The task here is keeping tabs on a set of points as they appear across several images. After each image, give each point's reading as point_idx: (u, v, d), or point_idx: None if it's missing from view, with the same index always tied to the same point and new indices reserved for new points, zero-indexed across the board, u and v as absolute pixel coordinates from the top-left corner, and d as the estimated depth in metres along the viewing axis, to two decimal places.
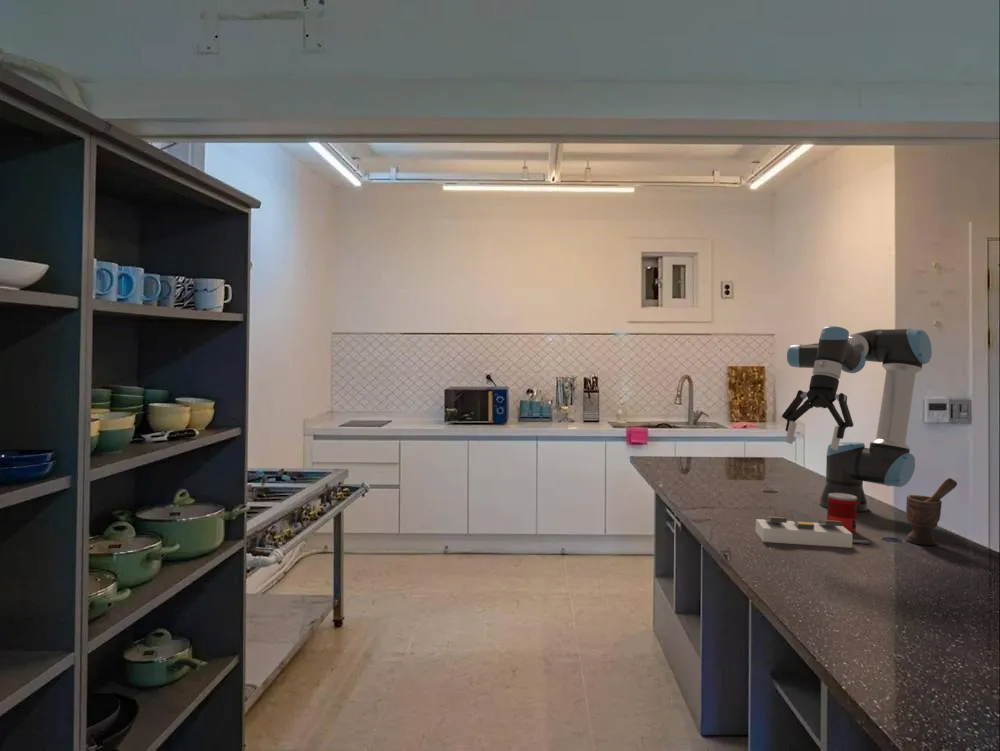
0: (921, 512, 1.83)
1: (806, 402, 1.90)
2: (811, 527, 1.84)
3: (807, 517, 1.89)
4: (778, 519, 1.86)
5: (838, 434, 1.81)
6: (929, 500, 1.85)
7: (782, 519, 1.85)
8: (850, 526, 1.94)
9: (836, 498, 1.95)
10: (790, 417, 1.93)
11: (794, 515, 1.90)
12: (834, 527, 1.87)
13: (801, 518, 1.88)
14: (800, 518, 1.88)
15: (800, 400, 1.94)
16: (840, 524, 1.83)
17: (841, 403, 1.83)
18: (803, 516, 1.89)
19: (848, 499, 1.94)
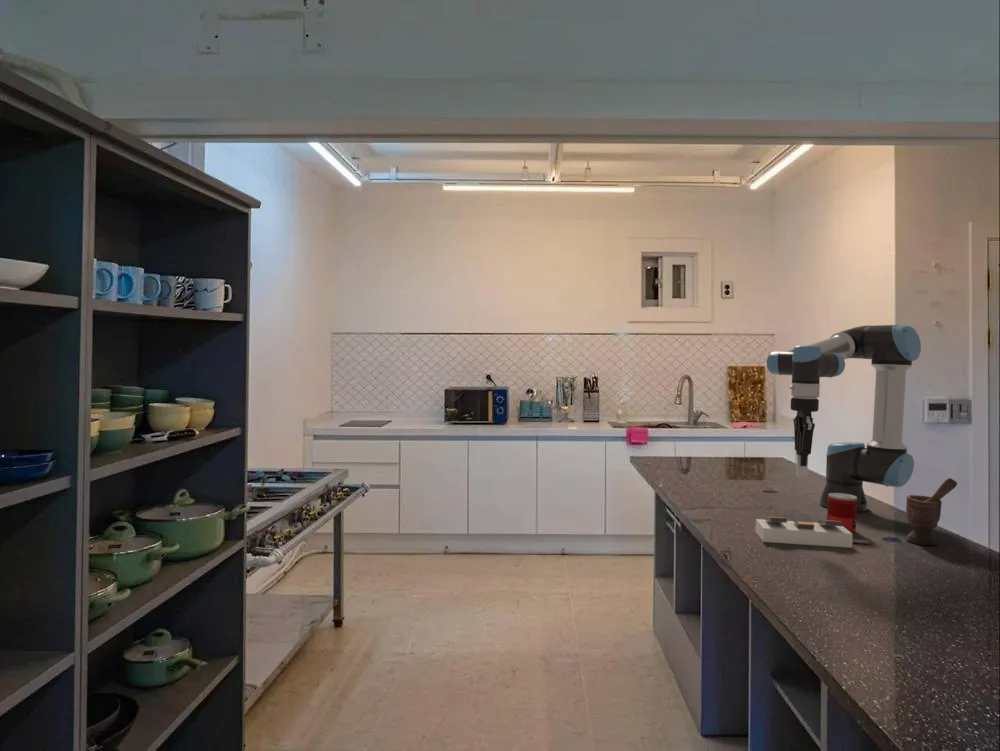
0: (921, 512, 1.83)
1: (796, 428, 1.91)
2: (811, 527, 1.84)
3: (807, 517, 1.89)
4: (778, 519, 1.86)
5: (800, 462, 1.89)
6: (929, 500, 1.85)
7: (782, 519, 1.85)
8: (850, 526, 1.94)
9: (836, 498, 1.95)
10: (797, 449, 1.91)
11: (794, 515, 1.90)
12: (834, 527, 1.87)
13: (801, 518, 1.88)
14: (800, 518, 1.88)
15: None
16: (840, 524, 1.83)
17: (803, 432, 1.85)
18: (803, 516, 1.89)
19: (848, 499, 1.94)
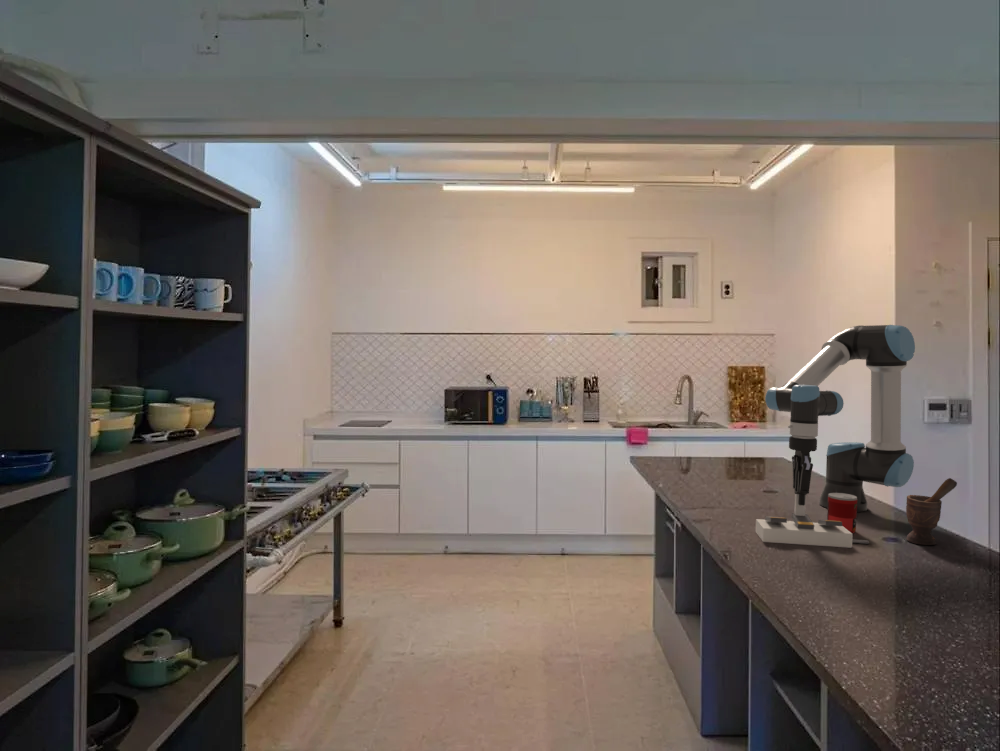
0: (921, 512, 1.83)
1: (794, 466, 1.91)
2: (811, 527, 1.84)
3: (807, 517, 1.89)
4: (778, 519, 1.86)
5: (798, 501, 1.89)
6: (929, 500, 1.85)
7: (782, 519, 1.85)
8: (850, 526, 1.94)
9: (836, 498, 1.95)
10: (795, 488, 1.91)
11: (794, 515, 1.90)
12: (834, 527, 1.87)
13: (801, 518, 1.88)
14: (800, 518, 1.88)
15: None
16: (840, 524, 1.83)
17: (801, 472, 1.85)
18: (803, 516, 1.89)
19: (848, 499, 1.94)
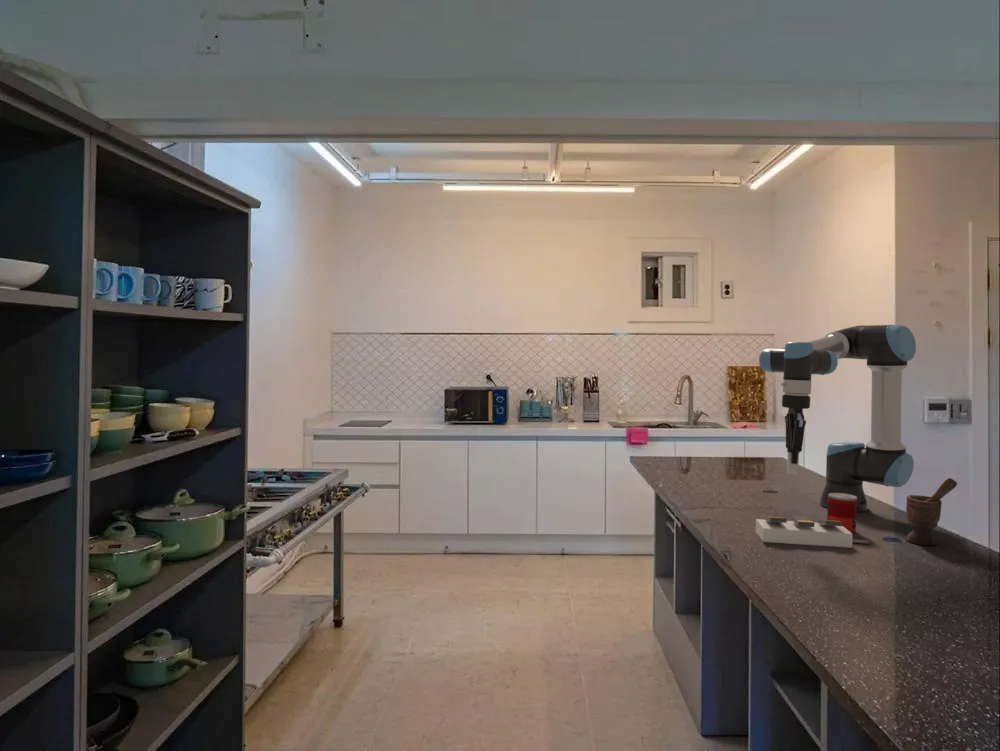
0: (921, 512, 1.83)
1: (787, 425, 1.89)
2: (811, 525, 1.84)
3: (807, 518, 1.89)
4: (778, 519, 1.86)
5: (791, 460, 1.87)
6: (929, 500, 1.85)
7: (782, 519, 1.85)
8: (850, 526, 1.94)
9: (836, 498, 1.95)
10: (788, 447, 1.89)
11: (794, 516, 1.90)
12: (834, 527, 1.87)
13: (801, 518, 1.88)
14: (799, 518, 1.88)
15: None
16: (840, 524, 1.83)
17: (794, 429, 1.83)
18: (803, 517, 1.89)
19: (848, 499, 1.94)
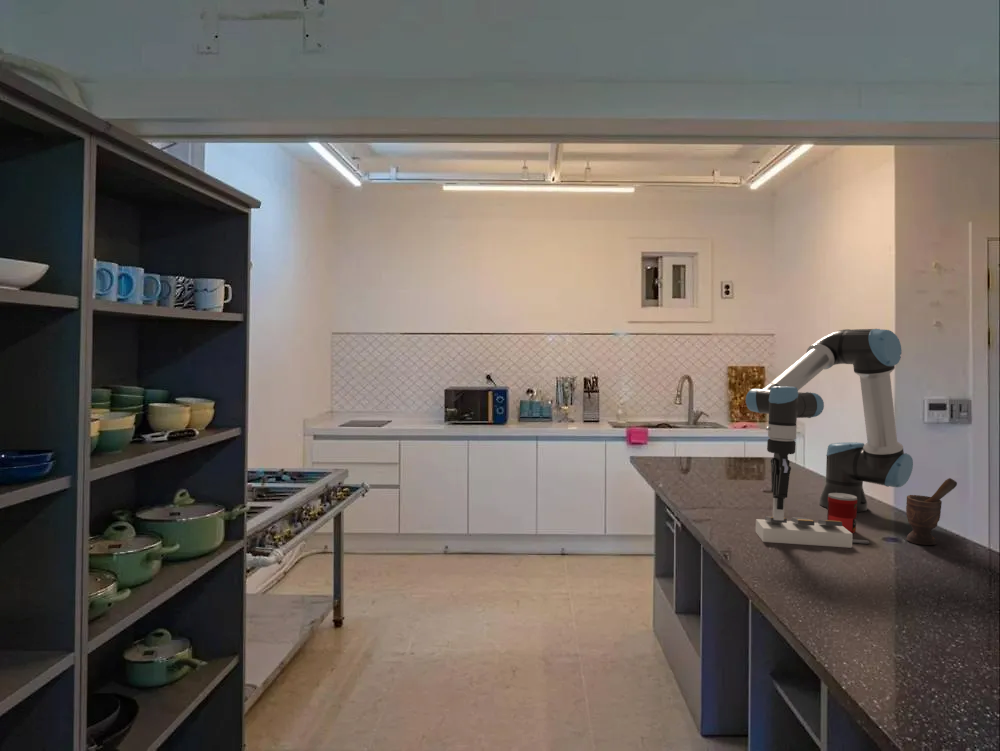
0: (921, 512, 1.83)
1: (772, 469, 1.87)
2: (811, 523, 1.84)
3: (807, 518, 1.89)
4: None
5: (777, 505, 1.84)
6: (929, 500, 1.85)
7: None
8: (850, 526, 1.94)
9: (836, 498, 1.95)
10: (773, 491, 1.87)
11: (794, 517, 1.90)
12: (834, 527, 1.87)
13: (801, 518, 1.88)
14: (799, 518, 1.88)
15: None
16: (840, 524, 1.83)
17: (779, 475, 1.81)
18: (803, 518, 1.89)
19: (848, 499, 1.94)
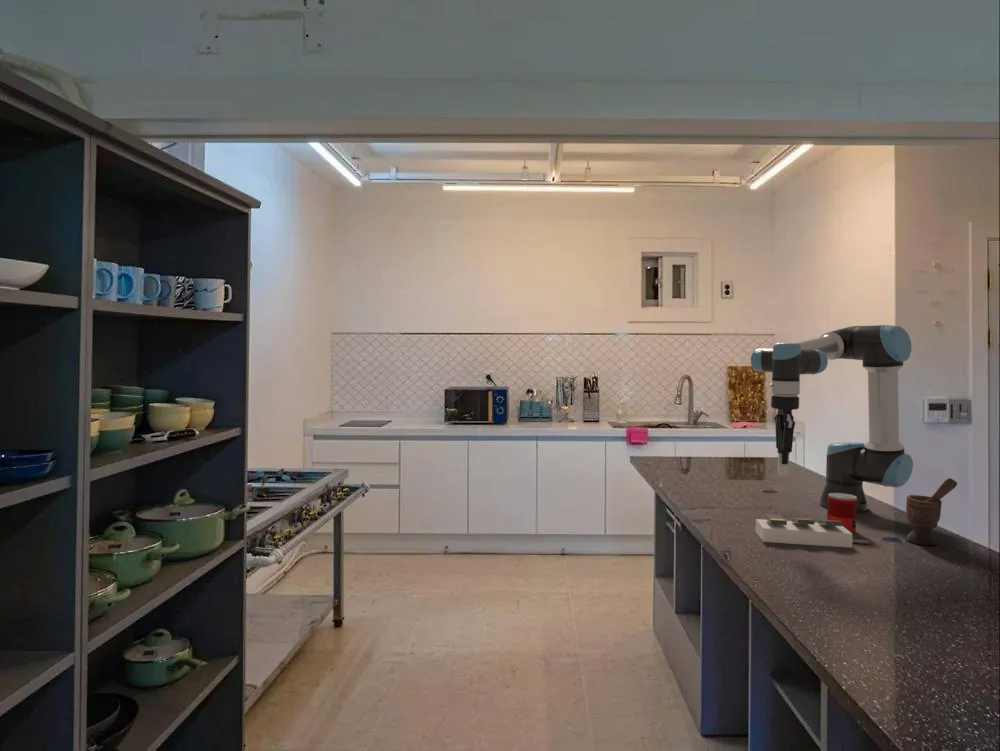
0: (921, 512, 1.83)
1: (777, 425, 1.89)
2: (811, 522, 1.84)
3: None
4: (778, 522, 1.86)
5: (782, 460, 1.87)
6: (929, 500, 1.85)
7: (782, 522, 1.85)
8: (850, 526, 1.94)
9: (836, 498, 1.95)
10: (778, 447, 1.90)
11: (794, 518, 1.90)
12: (834, 527, 1.87)
13: None
14: None
15: None
16: (840, 524, 1.83)
17: (784, 430, 1.84)
18: None
19: (848, 499, 1.94)
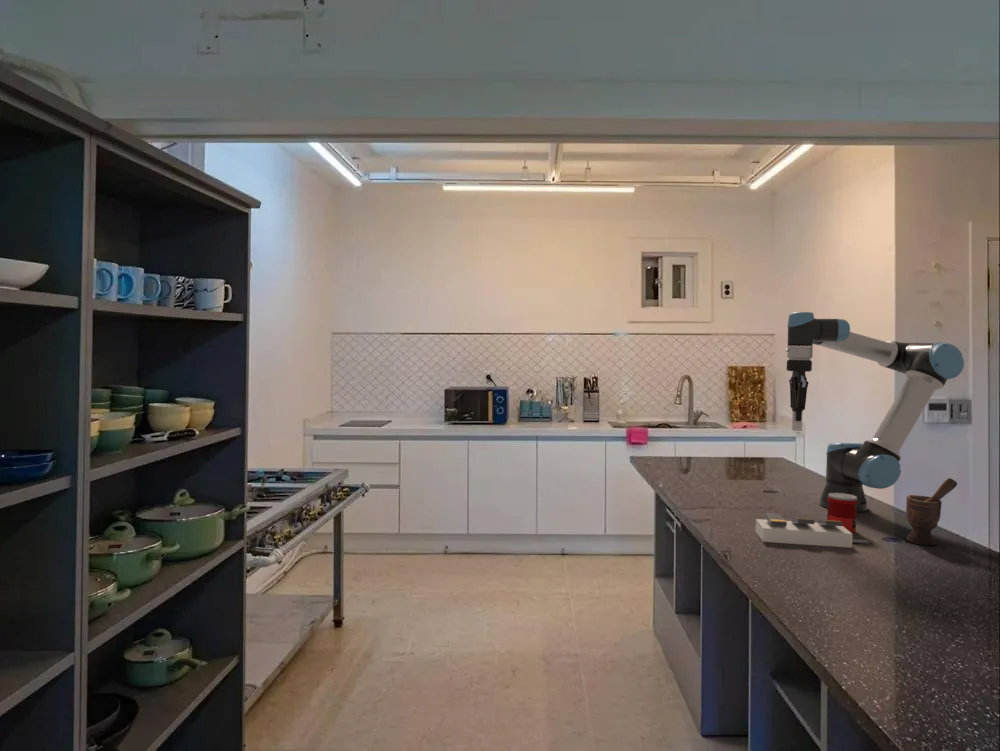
0: (921, 512, 1.83)
1: (791, 387, 2.11)
2: (811, 522, 1.84)
3: None
4: (778, 523, 1.86)
5: (795, 418, 2.09)
6: (929, 500, 1.85)
7: (782, 523, 1.85)
8: (850, 526, 1.94)
9: (836, 498, 1.95)
10: (792, 406, 2.11)
11: (794, 518, 1.90)
12: (834, 527, 1.87)
13: None
14: None
15: None
16: (840, 524, 1.83)
17: (798, 389, 2.05)
18: None
19: (848, 499, 1.94)
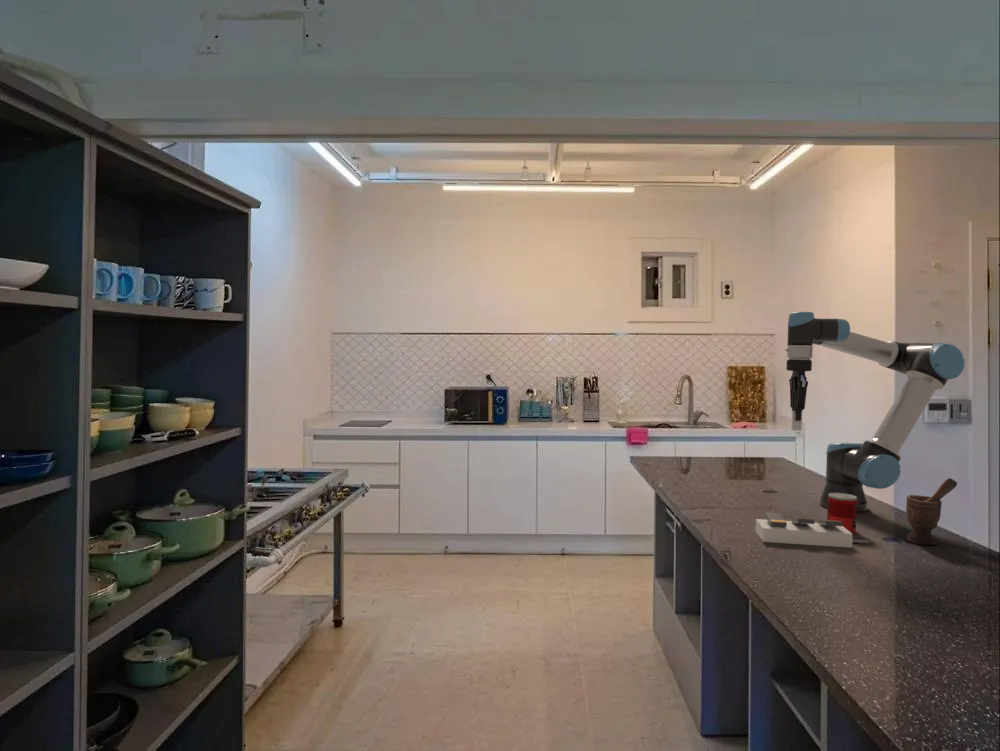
0: (921, 512, 1.83)
1: (791, 386, 2.11)
2: (811, 522, 1.84)
3: None
4: (778, 523, 1.86)
5: (795, 417, 2.09)
6: (929, 500, 1.85)
7: (782, 523, 1.85)
8: (850, 526, 1.94)
9: (836, 498, 1.95)
10: (792, 406, 2.11)
11: None
12: (834, 527, 1.87)
13: None
14: None
15: None
16: (840, 524, 1.83)
17: (798, 389, 2.05)
18: None
19: (848, 499, 1.94)
